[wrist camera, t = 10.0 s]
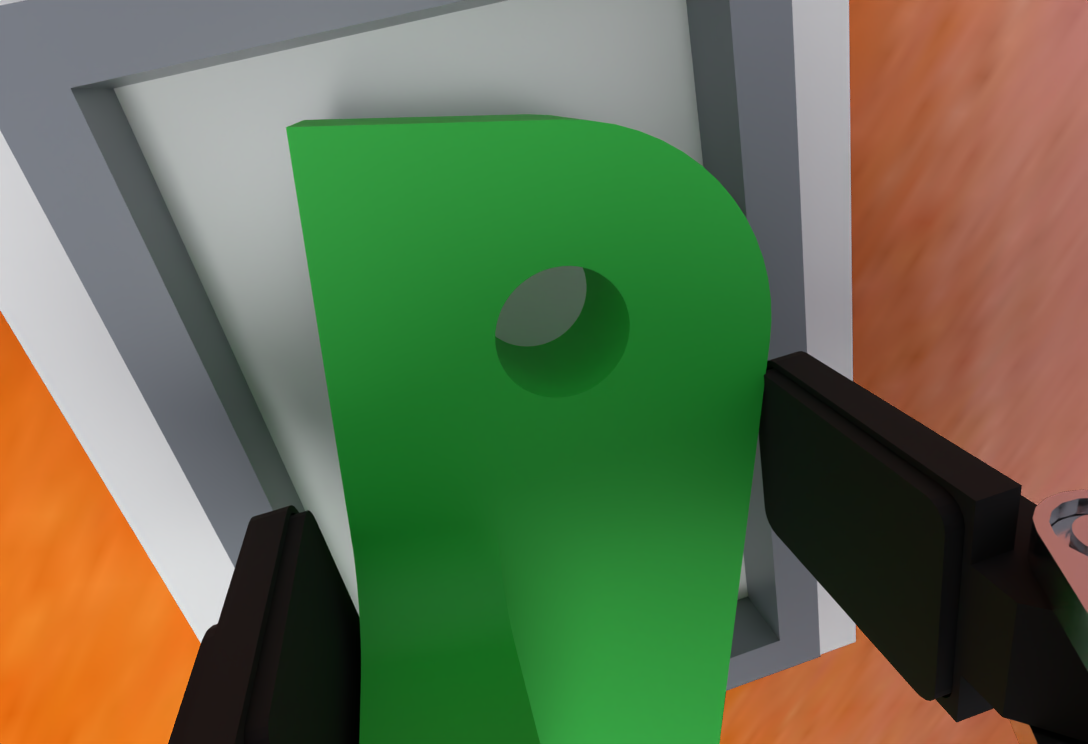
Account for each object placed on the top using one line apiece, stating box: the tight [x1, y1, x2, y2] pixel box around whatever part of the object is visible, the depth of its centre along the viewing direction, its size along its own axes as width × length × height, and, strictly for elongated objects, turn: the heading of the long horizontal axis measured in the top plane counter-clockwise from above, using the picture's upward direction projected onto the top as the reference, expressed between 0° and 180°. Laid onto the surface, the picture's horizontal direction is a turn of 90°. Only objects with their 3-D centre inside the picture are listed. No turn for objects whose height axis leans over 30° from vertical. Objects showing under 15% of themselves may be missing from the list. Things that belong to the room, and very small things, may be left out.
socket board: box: [0, 0, 856, 691], centre depth 13 cm, size 15×20×3 cm
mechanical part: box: [286, 114, 771, 744], centre depth 8 cm, size 12×6×8 cm, turn 1°
